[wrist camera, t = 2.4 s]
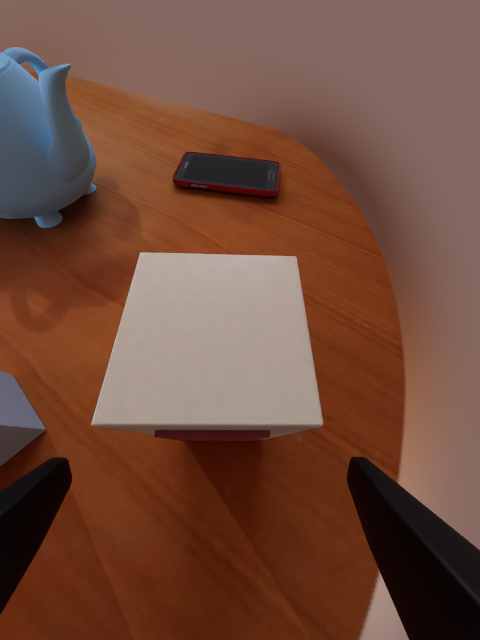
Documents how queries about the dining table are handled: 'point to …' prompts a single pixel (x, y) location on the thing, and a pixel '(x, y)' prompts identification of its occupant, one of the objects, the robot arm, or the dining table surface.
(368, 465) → the robot arm
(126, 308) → the cream block
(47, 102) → the teapot
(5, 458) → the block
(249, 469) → the dining table surface
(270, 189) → the cell phone
